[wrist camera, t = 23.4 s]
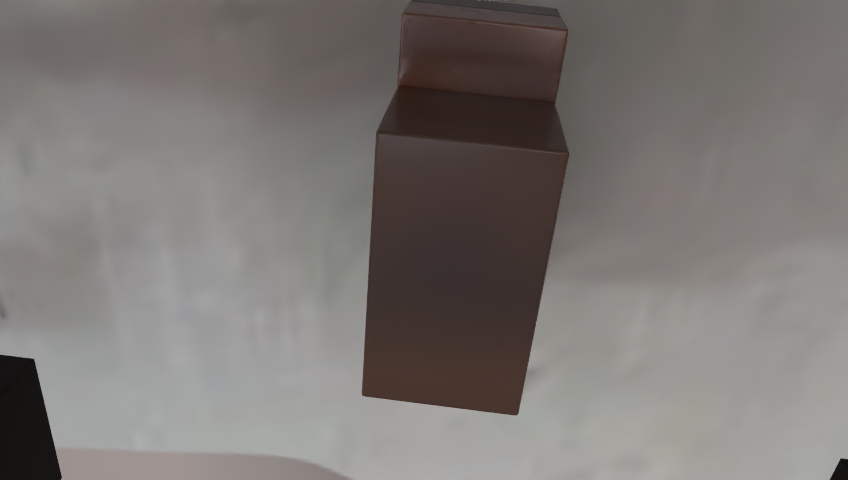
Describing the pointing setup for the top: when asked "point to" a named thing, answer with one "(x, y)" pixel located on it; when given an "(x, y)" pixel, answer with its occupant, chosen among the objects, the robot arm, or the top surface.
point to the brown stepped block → (464, 204)
